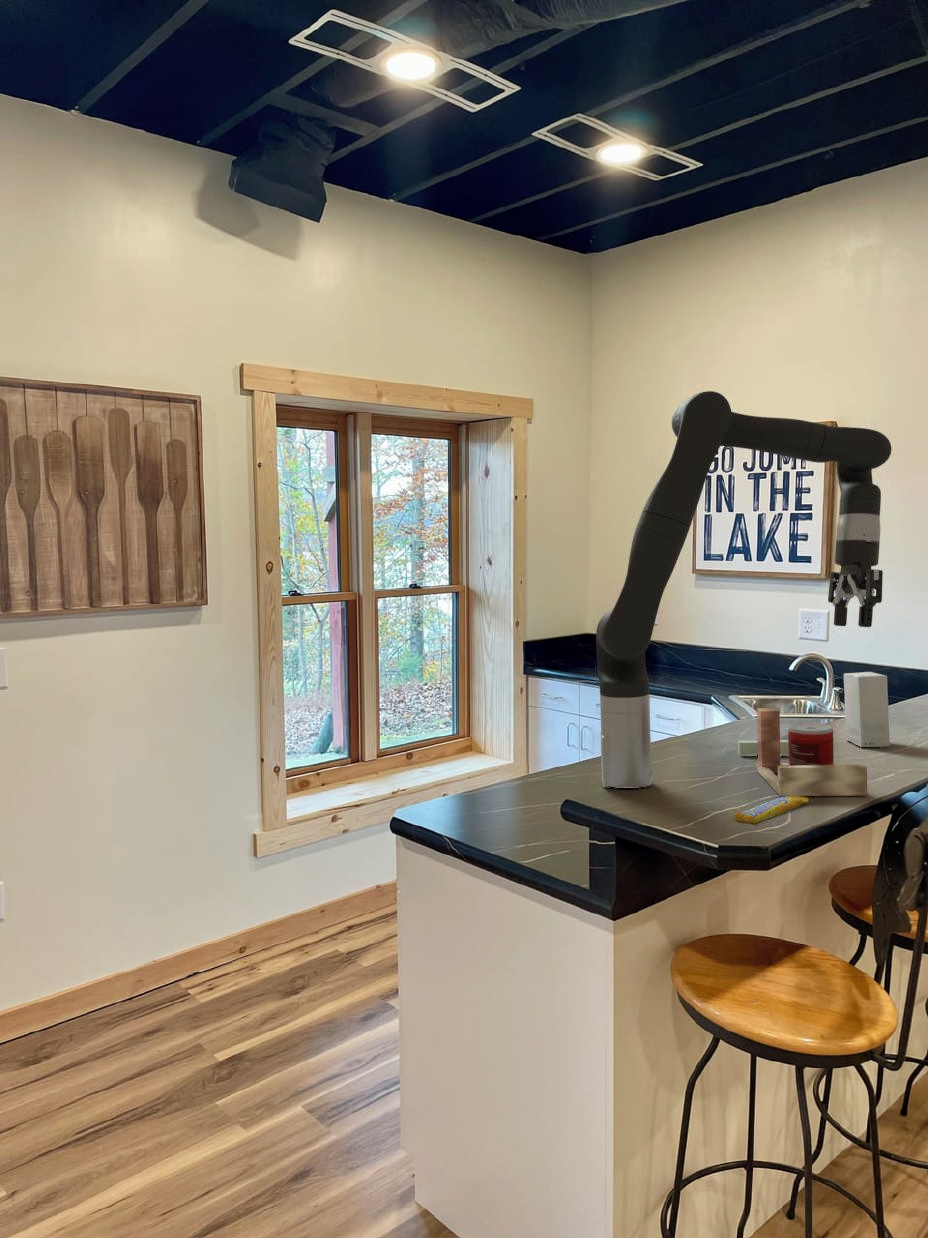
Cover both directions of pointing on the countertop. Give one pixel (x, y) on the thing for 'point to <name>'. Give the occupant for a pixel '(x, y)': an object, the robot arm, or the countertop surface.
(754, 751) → the stop rail
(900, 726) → the countertop surface
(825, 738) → the canned food
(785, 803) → the candy bar
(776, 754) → the shallow wooden tray
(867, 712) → the skincare box
